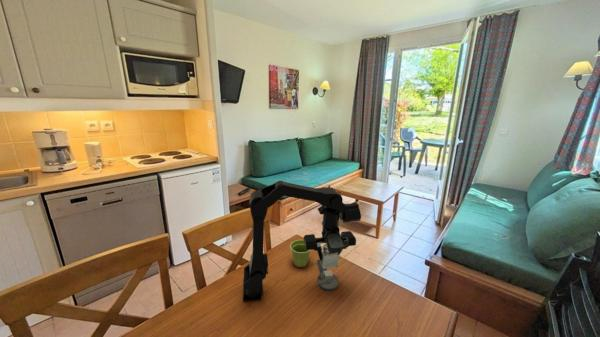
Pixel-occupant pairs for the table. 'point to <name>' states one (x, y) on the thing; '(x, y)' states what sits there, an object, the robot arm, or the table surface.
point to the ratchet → (326, 279)
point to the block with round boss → (328, 258)
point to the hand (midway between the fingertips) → (328, 259)
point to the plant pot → (299, 253)
